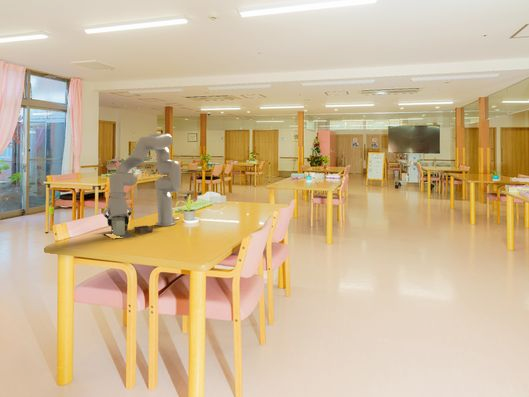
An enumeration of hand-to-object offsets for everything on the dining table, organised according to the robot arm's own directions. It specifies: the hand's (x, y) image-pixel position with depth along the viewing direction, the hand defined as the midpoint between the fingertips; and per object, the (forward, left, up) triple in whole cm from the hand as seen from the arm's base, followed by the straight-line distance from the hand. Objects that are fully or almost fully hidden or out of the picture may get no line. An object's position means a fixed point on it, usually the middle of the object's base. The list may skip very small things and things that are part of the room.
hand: (118, 224), depth 226 cm
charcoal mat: (0, 0, -6) cm, 6 cm away
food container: (-7, -13, -6) cm, 17 cm away
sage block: (0, 0, -6) cm, 6 cm away
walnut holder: (-15, 0, -6) cm, 16 cm away
